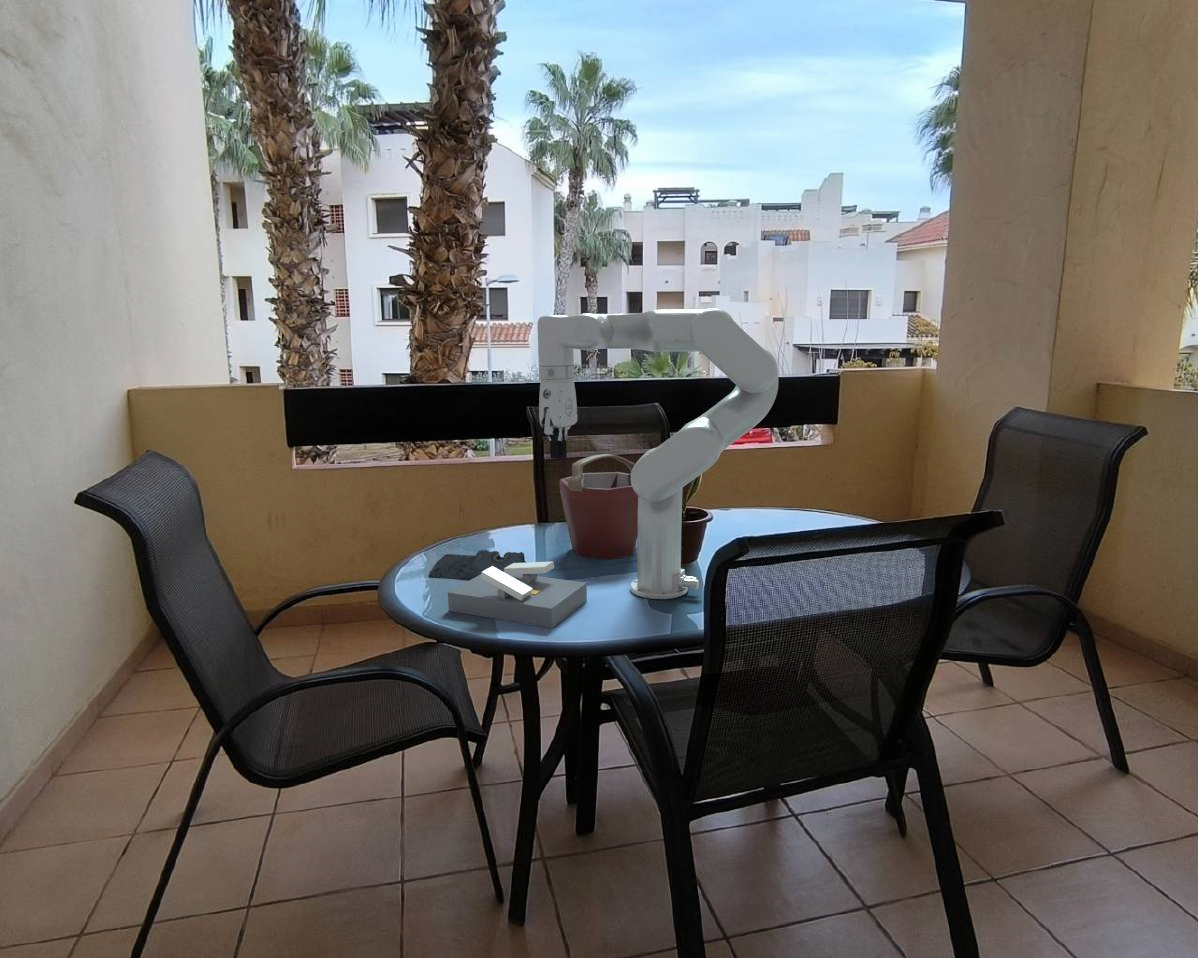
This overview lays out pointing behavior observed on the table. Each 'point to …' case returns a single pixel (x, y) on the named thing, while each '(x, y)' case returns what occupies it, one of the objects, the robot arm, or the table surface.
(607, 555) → the bucket
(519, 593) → the front rocker
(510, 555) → the dark slate chunk
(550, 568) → the back rocker
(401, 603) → the table surface
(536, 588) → the switch box
